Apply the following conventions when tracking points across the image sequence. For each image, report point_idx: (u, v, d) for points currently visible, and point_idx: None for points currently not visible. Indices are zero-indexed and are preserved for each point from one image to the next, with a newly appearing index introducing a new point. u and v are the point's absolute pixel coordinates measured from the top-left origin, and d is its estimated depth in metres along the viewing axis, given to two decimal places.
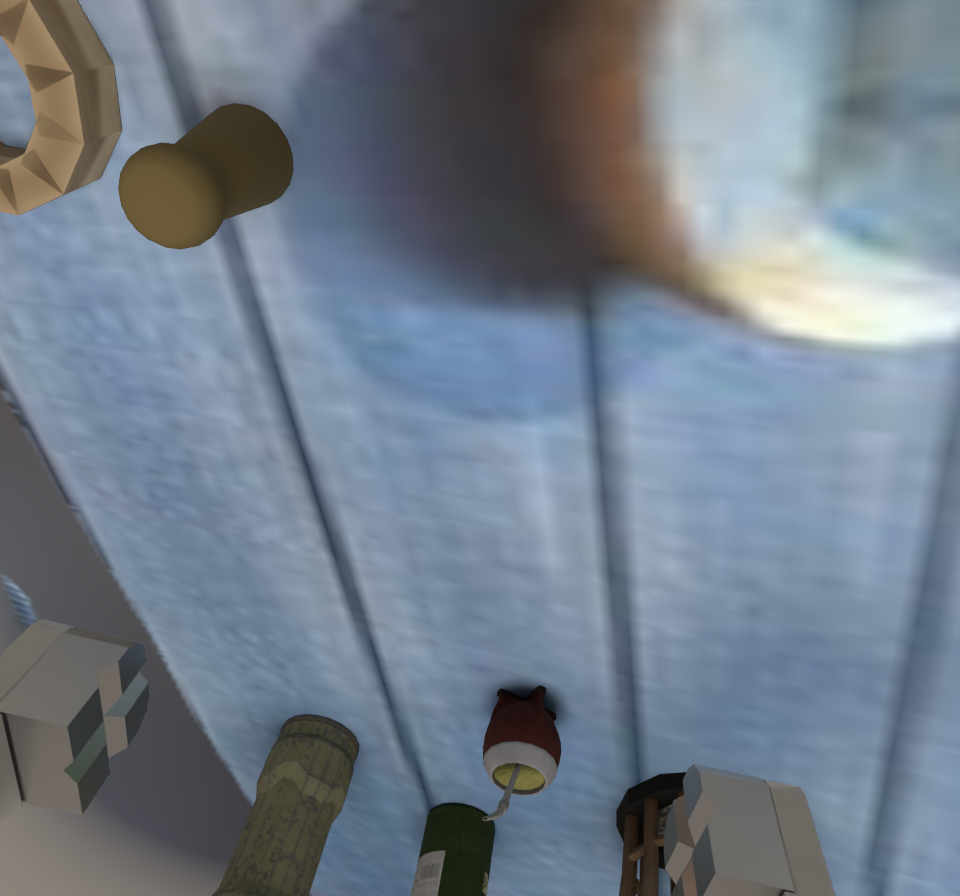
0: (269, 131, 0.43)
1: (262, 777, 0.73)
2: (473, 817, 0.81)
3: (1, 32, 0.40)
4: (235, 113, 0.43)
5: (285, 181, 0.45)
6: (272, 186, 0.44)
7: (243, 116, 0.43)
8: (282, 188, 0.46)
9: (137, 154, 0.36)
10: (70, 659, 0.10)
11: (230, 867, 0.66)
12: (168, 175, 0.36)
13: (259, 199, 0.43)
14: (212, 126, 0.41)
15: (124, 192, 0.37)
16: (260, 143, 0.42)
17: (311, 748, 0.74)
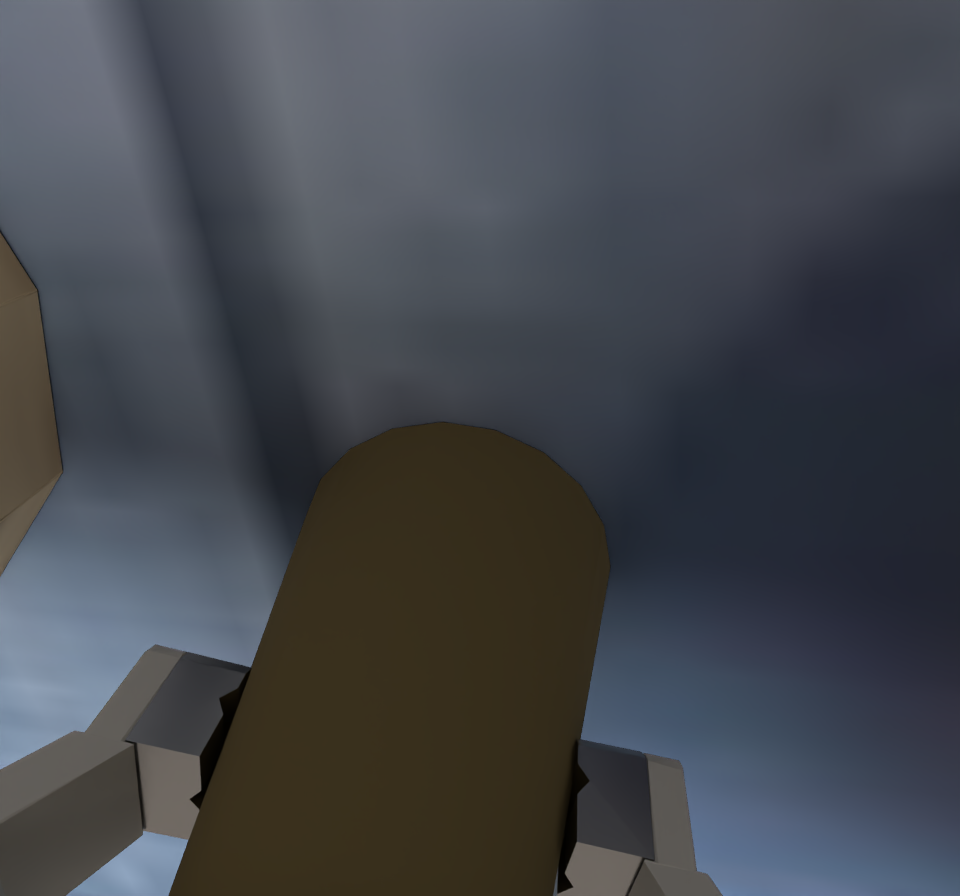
0: (575, 530, 0.12)
1: None
2: None
3: None
4: (470, 484, 0.12)
5: None
6: None
7: (499, 495, 0.12)
8: None
9: None
10: (191, 686, 0.10)
11: None
12: None
13: None
14: (419, 592, 0.10)
15: None
16: (572, 607, 0.11)
17: None
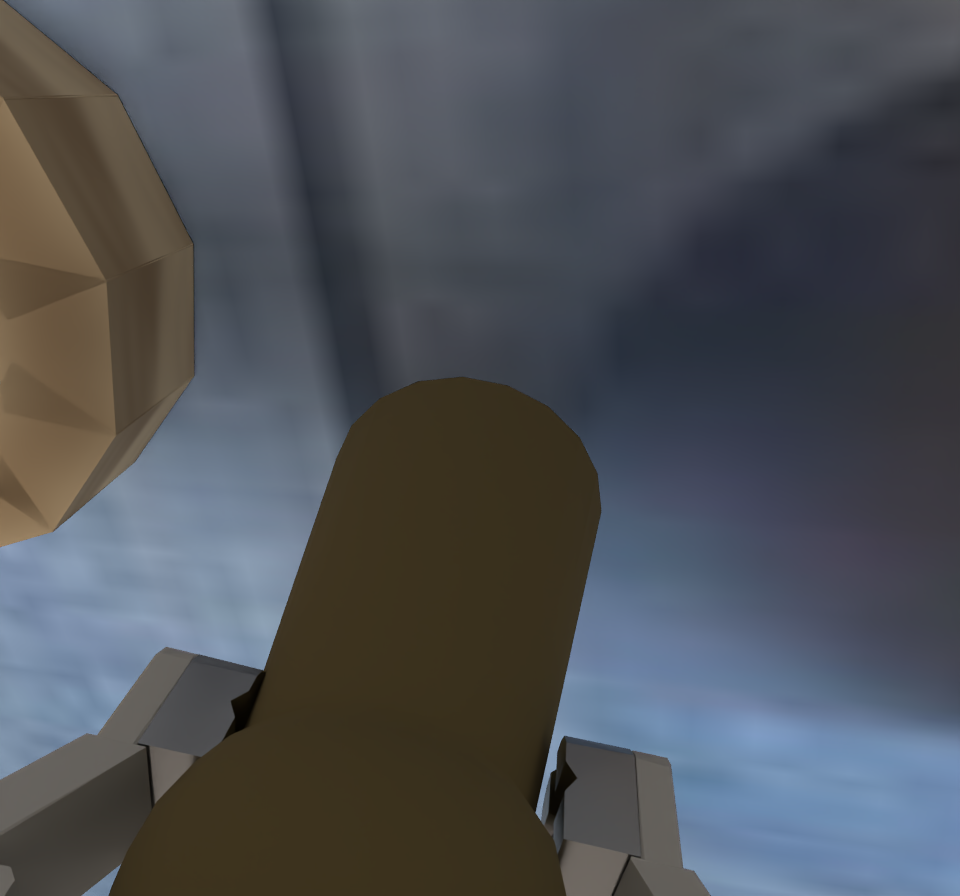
0: (574, 472, 0.14)
1: None
2: None
3: None
4: (487, 426, 0.14)
5: None
6: None
7: (511, 436, 0.14)
8: None
9: (213, 879, 0.07)
10: (202, 688, 0.10)
11: None
12: None
13: None
14: (447, 506, 0.12)
15: None
16: (569, 531, 0.13)
17: None
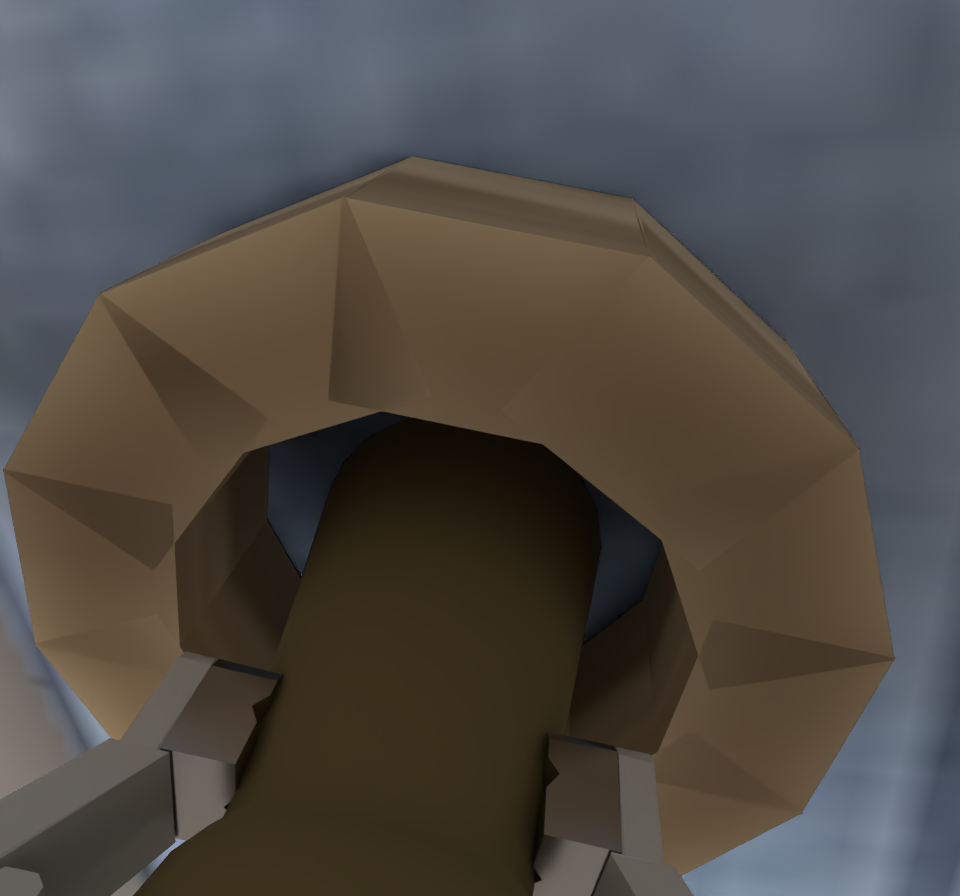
0: (572, 512, 0.14)
1: None
2: None
3: (670, 534, 0.10)
4: (482, 468, 0.13)
5: None
6: None
7: (507, 478, 0.13)
8: None
9: None
10: (223, 693, 0.10)
11: None
12: None
13: None
14: (440, 558, 0.11)
15: None
16: (568, 577, 0.13)
17: None
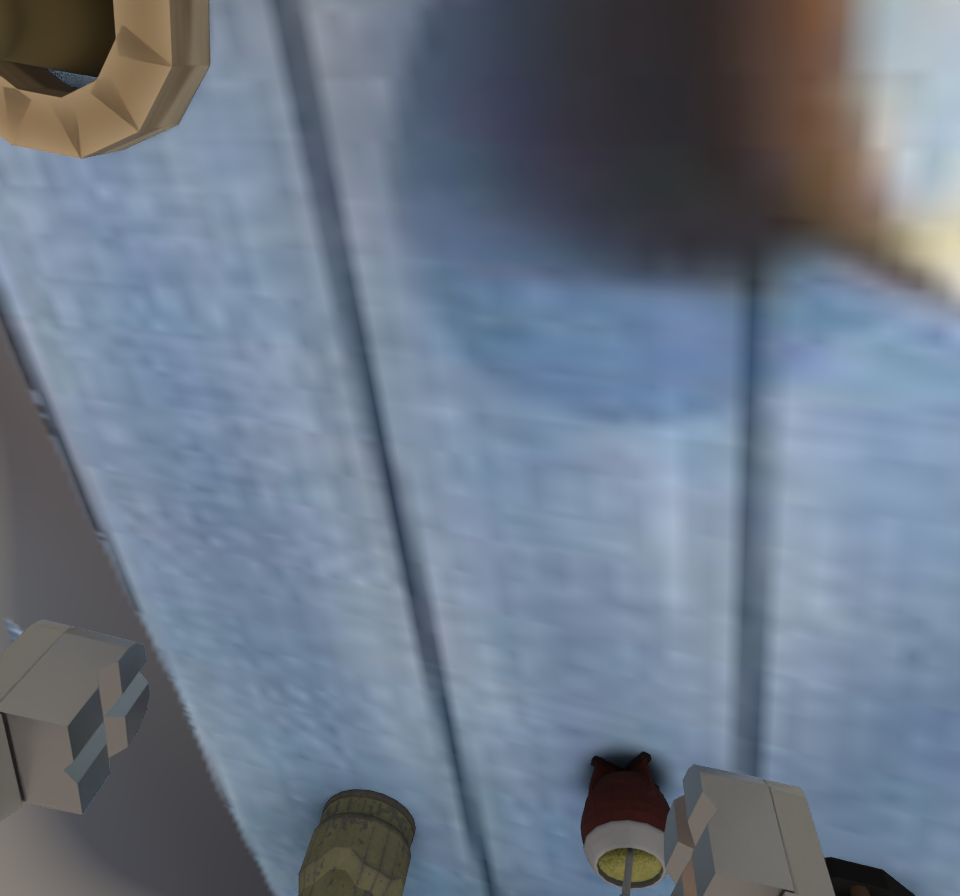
0: None
1: (306, 867, 0.61)
2: None
3: None
4: None
5: None
6: (104, 39, 0.37)
7: None
8: None
9: None
10: (70, 659, 0.10)
11: None
12: None
13: (84, 49, 0.36)
14: None
15: None
16: None
17: (365, 831, 0.62)
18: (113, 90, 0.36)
